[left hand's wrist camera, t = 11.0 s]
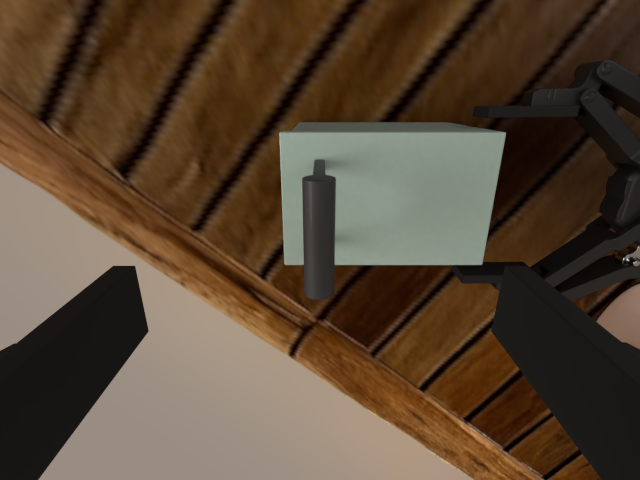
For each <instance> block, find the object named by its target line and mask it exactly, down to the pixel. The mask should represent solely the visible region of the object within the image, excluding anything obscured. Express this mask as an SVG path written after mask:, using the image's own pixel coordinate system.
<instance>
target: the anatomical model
mask: <svg viewBox="0 0 640 480" xmlns="http://www.w3.org/2000/svg"><path fill="white" fill-rule="evenodd" d="M596 322H597V323H599V324H600V325H601V326H602V327H603V328H605V329H606V330H607V331H608V332H610V333H611V334H612V335H613V336H615V337H616V338H617V339H618V340H620V341H621V342H627V343H628V344H630V345H632V346H634V347H636V348H638V349H640V284H637V285H635V286H633V287H631V288H629V289H627V290H626V291H625V292H623V293H622V294H621V295H619V296H618V297H617V298H616V299H615V300H614V301H613V302H612V303H611V304H610V305H609V306H608V307H607V308H606V309H605V311H604V312H603V313H602V314H601V316H600V317H599V318H598V320H597V321H596Z"/></svg>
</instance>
